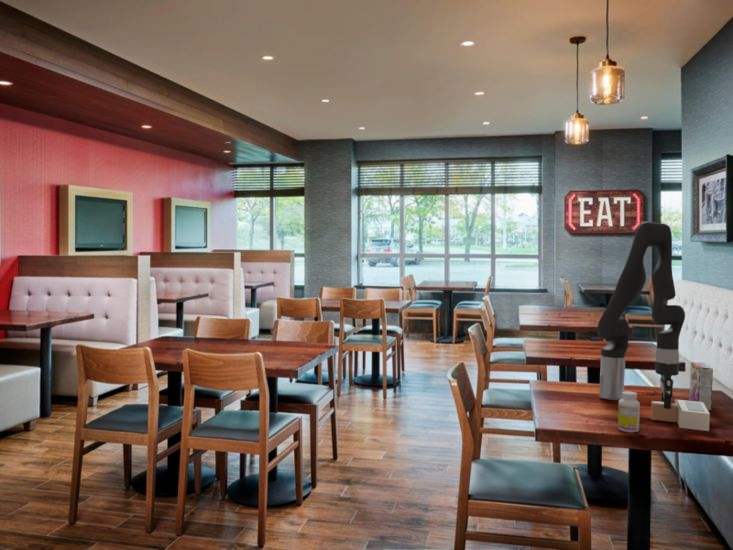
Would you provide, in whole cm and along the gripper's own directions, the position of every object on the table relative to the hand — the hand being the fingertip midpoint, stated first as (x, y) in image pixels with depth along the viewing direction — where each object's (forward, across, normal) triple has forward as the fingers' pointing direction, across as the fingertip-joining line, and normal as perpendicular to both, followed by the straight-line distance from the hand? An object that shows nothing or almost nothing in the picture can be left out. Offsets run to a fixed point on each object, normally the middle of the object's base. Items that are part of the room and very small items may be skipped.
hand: (666, 405), depth 218 cm
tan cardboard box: (+5, 0, -1) cm, 5 cm away
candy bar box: (+5, -26, +14) cm, 30 cm away
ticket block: (+5, 0, +8) cm, 10 cm away
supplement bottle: (+6, +18, -13) cm, 23 cm away
